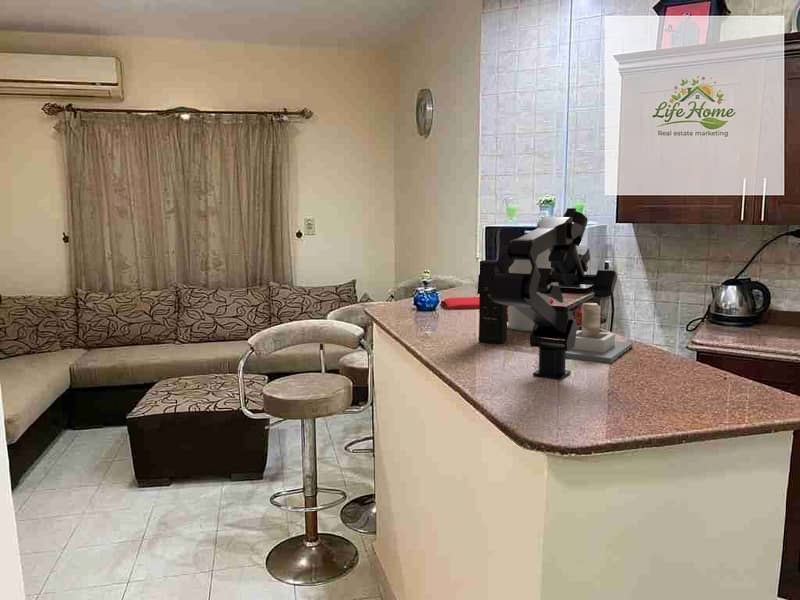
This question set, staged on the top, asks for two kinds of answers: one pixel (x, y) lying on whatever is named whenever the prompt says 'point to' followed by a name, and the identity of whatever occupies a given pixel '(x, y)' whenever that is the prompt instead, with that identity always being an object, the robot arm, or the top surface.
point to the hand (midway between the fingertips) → (580, 302)
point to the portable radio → (490, 309)
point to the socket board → (597, 348)
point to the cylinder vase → (524, 266)
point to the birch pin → (591, 320)
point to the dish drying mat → (465, 303)
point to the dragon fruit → (579, 316)
